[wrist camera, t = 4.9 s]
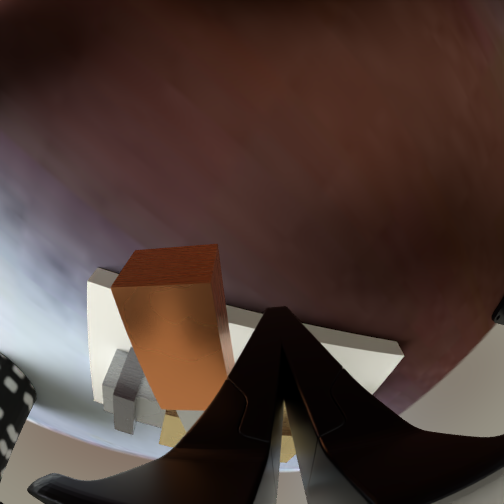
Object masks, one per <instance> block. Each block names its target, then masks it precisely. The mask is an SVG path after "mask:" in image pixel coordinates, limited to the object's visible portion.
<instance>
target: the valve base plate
mask: <svg viewBox="0 0 504 504" xmlns="http://www.w3.org/2000/svg"><path fill="white" fill-rule="evenodd" d="M118 275H119V274H117V273H113V272H110V271H107V270H104V269H101V268H97V269H96V271H95V272H94V273H93V274H92V276H91V277H90V278H89V280H88V281H87V320H88V343H89V358H90V369H91V379H92V388H93V396H94V401H96V402H99V403H102V404H103V393H102V383H103V381H104V378H105V376H106V373H107V371H108V368H109V366H110V364H111V361H112V359H113V357H114V354H115V352H116V350H117V349H119V350H122V351H125V352H128V353H129V350H130V348H131V347H132V345H131V342H130V340H129V337H128V335H127V332H126V330H125V327H124V324H123V322H122V319H121V316H120V314H119V311H118V308H117V305H116V303H115V300H114V297H113V294H112V291H111V288H110V287H111V286H112V284H113V283H114V281H115V280H116V278H117V277H118ZM226 309H227V316H228V323H229V330H230V336H231V343H232V349H233V356H234V362H235V363H236V361H237V360H238V358H239V356H240V354H241V353H242V351H243V349H244V347H245V346H246V344H247V342H248V340H249V339H250V337H251V335H252V333H253V331H254V330H255V328H256V326H257V324H258V323H259V321H260V319H261V317H262V315H263V314H261V313H256V312H252V311H248V310H244V309H240V308H236V307H232V306H228V305H226ZM302 324H303V325H304V326H305V327H306V328H307V329H308V330H309V331H310V332H311V333H312V334H313V336H314V337H315V338H316V339H317V340H318V341H319V342H320V343H321V344H322V345H323V346H324V347H325V348H326V349H327V350H328V351H329V353H330V354H331V355H332V356H333V357H334V358H335V359H336V360H337V361H338V362H339V363H340V364H341V365H342V366H343V368H344V369H346V370H347V372H348V373H349V374H350V375H351V376H352V377H353V378H354V379H355V380H356V381H357V382H358V383H359V384H360V385H361V386H362V387H364V388H365V389H366V390H367V391H368V392H369V393H371V394H373V393H374V392H375V391H376V390H377V389H378V388H379V386H380V385H381V384H382V383H383V382H384V380H385V379H386V378H387V377H388V376H389V374H390V373H391V372H392V371H393V370H394V368H395V367H396V366H397V365H398V363H399V362H400V361H401V359H402V358H403V357H404V354H403V352H402V351H401V349H400V347H399V345H398V343H397V341H391V340H385V339H380V338H374V337H369V336H363V335H358V334H353V333H348V332H342V331H337V330H333V329H328V328H323V327H318V326H313V325H309V324H304V323H302Z"/></svg>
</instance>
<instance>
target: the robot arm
mask: <svg viewBox="0 0 504 504" xmlns="http://www.w3.org/2000/svg"><path fill="white" fill-rule="evenodd" d="M492 320H493V321H494V322H495V323H498V324H502V325H504V298H503V299H502V301H501V303H500V304H499V306H498V308H497V309H496V311H495V312H494V314H493V316H492ZM284 403H285V407H286V412H287V416H288V420H289V425H290V429H291V433H292V438H293V442H294V446H295V451H296V455H297V460H298V464H299V468H300V473H301V477H302V481H303V485H304V490H305V494H306V499H307V503H308V504H504V434H503V435H500V436H495V437H471V436H461V435H452V434H444V433H437V432H430V431H424V430H421V429H419V428H417V427H414V426H413V425H411V424H409V423H408V422H406V421H405V420H403V419H402V418H401V417H400V416H398V415H397V414H396V413H394V412H393V411H392V410H391V409H389V408H388V407H387V406H386V405H384V404H383V403H382V402H380V401H379V400H378V399H377V398H375V397H374V396H373V395H372V394H371V393H369V392H368V391H367V390H366V389H365V388H364V387H362V386H361V385H360V384H359V383H358V382H357V381H356V380H355V379H354V378H353V377H352V376H351V375H350V374H349V373H348V372H347V370H346V369H344V368H343V366H342V365H341V364H340V363H339V362H338V361H337V360H336V359H335V358H334V357H333V356H332V355H331V354H330V353H329V351H328V350H327V349H326V348H325V347H324V346H323V345H322V344H321V343H320V342H319V341H318V340H317V339H316V338H315V337H314V336H313V334H312V333H311V332H310V331H309V330H308V329H307V328H306V327H305V326H304V325H303V324H302V323H301V322H300V321H299V319H298V318H297V317H296V316H295V315H294V314H293V313H292V312H291V311H290V310H289V309H288V308H287V307H286V306H283V307H272V308H267V309H266V310H265V312H264V314H263V315H262V317H261V319H260V321H259V323H258V324H257V326H256V328H255V330H254V331H253V333H252V335H251V337H250V339H249V340H248V342H247V344H246V346H245V347H244V349H243V351H242V353H241V354H240V356H239V358H238V360H237V361H236V363H235V365H234V366H233V368H232V370H231V372H230V373H229V375H228V377H227V379H226V380H225V382H224V383H223V385H222V387H221V388H220V390H219V392H218V393H217V395H216V396H215V398H214V399H213V401H212V402H211V403H210V405H209V406H208V407H207V409H206V410H205V411H204V412H203V414H202V415H201V416H200V417H199V419H198V420H197V421H196V422H195V423H194V425H193V426H192V427H191V428H190V429H189V430H188V432H187V433H186V434H185V435H184V436H183V437H182V439H181V440H180V441H179V442H178V443H177V444H176V445H175V446H174V448H172V449H171V450H170V451H169V452H168V453H166V454H165V455H164V456H162V457H160V458H159V459H156V460H154V461H151V462H149V463H146V464H144V465H141V466H139V467H136V468H133V469H131V470H128V471H125V472H122V473H119V474H116V475H114V476H110V477H107V478H104V479H100V480H92V481H84V480H83V481H82V480H77V479H73V478H70V477H67V476H64V475H61V474H56V473H52V474H49V475H46V476H44V477H41V478H39V479H37V480H36V481H34V482H33V483H32V484H31V485H30V486H29V487H28V489H27V491H28V492H29V493H30V494H31V495H32V496H34V497H35V498H37V499H38V500H40V501H41V502H43V503H45V504H276V498H277V489H278V477H279V466H280V454H281V440H282V425H283V409H284ZM0 504H3V503H2V502H0Z"/></svg>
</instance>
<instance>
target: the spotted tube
mask: <svg viewBox="0 0 504 504" xmlns="http://www.w3.org/2000/svg"><path fill="white" fill-rule="evenodd" d="M36 399H37V395H36V391H35V389H34V387H33V386H32V384H31V382H30V381H29V380H28V379H27V377H26V376H25V375H24V374H23V373H22V372H21V371H20V369H18V368H17V367H16V366H15V365H14V364H13V363H12V362H11V361H10V360H9V359H7V358H6V357H5V356H3V355H2V354H1V353H0V481H1V478H2V476H3V473H4V471H5V468H6V465H7V463H8V460H9V458H10V455H11V453H12V450H13V448H14V446H15V443H16V441H17V439H18V436H19V434H20V432H21V430H22V428H23V425H24V423H25V421H26V419H27V417H28V415H29V413H30V411H31V409H32V407H33V405H34V403H35V401H36Z"/></svg>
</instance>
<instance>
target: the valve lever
mask: <svg viewBox="0 0 504 504" xmlns="http://www.w3.org/2000/svg"><path fill="white" fill-rule="evenodd" d="M110 288H111V291H112V294H113V297H114V300H115V303H116V305H117V308H118V311H119V314H120V316H121V319H122V322H123V324H124V327H125V330H126V332H127V335H128V337H129V340H130V342H131V345H132V347H133V349H134V352H135V354H136V356H137V359H138V361H139V363H140V366H141V368H142V370H143V372H144V374H145V377H146V379H147V381H148V383H149V385H150V387H151V389H152V392H153V394H154V396H155V398H156V400H157V402H158V404H159V406H160V408H161V409H167V410H176V412H177V414H178V416H179V418H180V420H181V422H182V424H183V426H184V428H185V430H186V432H188V430H189V429H190V428H191V427H192V426H193V425H194V423H195V422H196V421H197V420H198V419H199V417H200V416H201V415H202V414H203V412H204V411H205V410H206V409H207V407H208V406H209V405H210V403H211V402H212V401H213V399H214V398H215V396H216V395H217V393H218V392H219V390H220V388H221V387H222V385H223V383H224V382H225V380H226V379H227V377H228V375H229V373H230V372H231V370H232V368H233V366H234V365H235V362H234V356H233V349H232V343H231V336H230V330H229V323H228V316H227V309H226V303H225V295H224V288H223V281H222V274H221V266H220V259H219V251H218V244H211V245H197V246H184V247H171V248H159V249H146V250H135V251H134V253H133V254H132V256H131V257H130V259H129V260H128V262H127V263H126V265H125V266H124V268H123V269H122V271H121V272H120V274H119V275H118V277H117V278H116V280H115V281H114V283H113V284H112V286H111V287H110Z"/></svg>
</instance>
